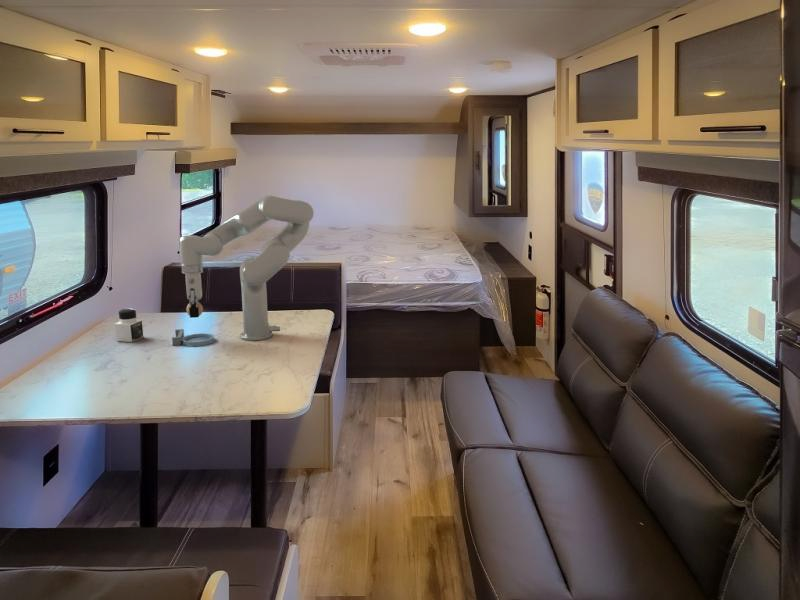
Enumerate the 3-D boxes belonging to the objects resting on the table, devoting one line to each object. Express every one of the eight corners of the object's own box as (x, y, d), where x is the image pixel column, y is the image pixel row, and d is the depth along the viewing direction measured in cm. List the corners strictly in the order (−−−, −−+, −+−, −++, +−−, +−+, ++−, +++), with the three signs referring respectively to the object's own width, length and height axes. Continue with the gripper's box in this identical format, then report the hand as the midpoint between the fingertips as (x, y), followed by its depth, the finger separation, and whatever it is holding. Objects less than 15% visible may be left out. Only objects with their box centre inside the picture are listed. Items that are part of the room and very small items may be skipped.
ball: (203, 314, 227) (203, 299, 226) (202, 318, 222) (202, 303, 220) (187, 315, 226) (186, 300, 225) (186, 319, 220) (185, 303, 219)
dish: (215, 336, 233) (214, 332, 233) (213, 345, 222) (213, 340, 222) (183, 338, 230) (182, 334, 230) (180, 347, 219) (179, 343, 219)
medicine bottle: (132, 342, 225) (129, 312, 222) (115, 341, 226) (112, 311, 224) (143, 337, 232) (141, 307, 229) (127, 336, 233) (124, 306, 230)
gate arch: (184, 336, 233) (183, 329, 233) (181, 345, 222) (180, 337, 221) (176, 336, 232) (175, 329, 232) (172, 345, 221) (172, 338, 220)
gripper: (201, 272, 213) (204, 320, 216) (204, 264, 229) (206, 309, 233) (179, 272, 211) (182, 321, 215) (183, 265, 227) (186, 310, 231)
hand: (195, 314), depth 224 cm, fingers closed on ball, 5 cm apart
